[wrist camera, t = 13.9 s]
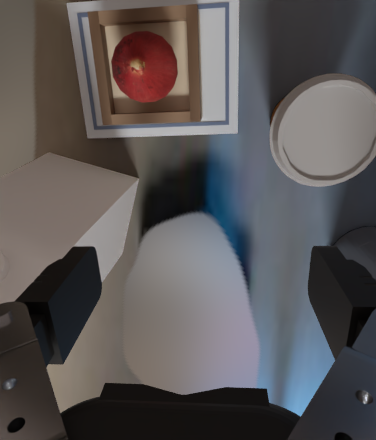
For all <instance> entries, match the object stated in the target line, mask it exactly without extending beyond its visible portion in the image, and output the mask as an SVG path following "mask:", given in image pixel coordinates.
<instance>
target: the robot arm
mask: <svg viewBox="0 0 376 440" xmlns="http://www.w3.org/2000/svg"><path fill="white" fill-rule="evenodd" d="M101 290H102V282H101V275H100V269H99V263H98V257H97V252H96V249H95V247H93V246H74V247H72V248H71V249H70V250H69V252H68V253H67V254H66V255H65V256H64V257H63V258H62V259H59V260H57V261H55V262H53V263H52V264H50V265H48V266H47V267H46V268H45V269H44V270H43V271H42V272H41V273H40V276H38V277H37V278H36V279H35V280H34V282H32V283H31V284H30V285H29V286H28V287H27V288H26V289H25V291H24V292H23V293H22V294H21V295H20V296H19V297H18V298H17V299H16V300H15V301H14V302H6V303H2V304H0V440H376V227H363V228H358V229H355V230H353V231H350V232H349V233H347V234H345V235H344V236H342V237H341V238H340V239H339V240H338V241H337V242H336V243H335V245H334V246H314V247H313V248H312V252H311V261H310V270H309V280H308V295H309V299H310V302H311V305H312V307H313V309H314V312H315V314H316V316H317V319H318V321H319V323H320V326H321V328H322V330H323V333H324V335H325V337H326V340H327V342H328V344H329V347H330V349H331V351H332V354H333V356H334V358H335V362H334V364H333V365H332V367H331V368H330V370H329V372H328V373H327V375H326V377H325V378H324V380H323V381H322V383H321V385H320V386H319V388H318V390H317V391H316V393H315V395H314V396H313V398H312V399H311V401H310V403H309V404H308V406H307V408H306V409H305V411H304V413H303V414H302V416H301V417H300V416H298V415H297V414H295V413H293V412H291V411H289V410H287V409H285V408H283V407H280V406H277V405H274V404H271V403H269V400H268V393H267V389H259V388H230V387H225V388H219V389H214V390H209V391H204V392H198V393H193V394H188V395H180V394H176V393H173V392H169V391H165V390H162V389H158V388H155V387H151V386H148V385H144V384H119V383H105V385H104V387H103V390H102V393H101V395H100V397H96V398H92V399H89V400H86V401H83V402H81V403H78V404H76V405H74V406H72V407H70V408H68V409H67V410H65V411H63V412H62V413H60V411H59V408H58V404H57V401H56V398H55V395H54V391H53V388H52V385H51V382H50V378H49V375H48V372H47V369H46V367H47V365H48V364H64V362H65V360H66V358H67V356H68V355H69V353H70V351H71V349H72V347H73V346H74V344H75V342H76V340H77V338H78V336H79V335H80V333H81V331H82V329H83V327H84V326H85V324H86V322H87V320H88V318H89V317H90V315H91V313H92V311H93V309H94V307H95V306H96V304H97V302H98V300H99V298H100V295H101Z"/></svg>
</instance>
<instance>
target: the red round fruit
mask: <svg viewBox="0 0 376 440" xmlns="http://www.w3.org/2000/svg"><path fill="white" fill-rule="evenodd" d="M111 64H112V74H113V78H114V80H115V82H116V84H117V85H118V87H119V89H120V91H122V92H123V93H124V94H125V95H127V96H128V97H129V98H130V99H133V100H136V101H139V102H142V103H144V102H156V101H158V100H160V99H162V98H164V97H166V96H167V95H168V93H169V92H170V91H171V90H172V88H173V87H174V85H175V82H176V78H177V75H178V69H177V59H176V56H175V53H174V51H173V48H172V46H171V45H170V44H169V43H168V42H167V41H166V40H165V39H164V38H163V37H162V36H160V35H158V34H155V33H153V32H150V31H136V32H133V33H131V34H129V35H127V36H124V37H123V38H122V40H121V41H120V42H119V43H118V44H117V46H116V47H115V50H114V53H113V57H112V60H111Z"/></svg>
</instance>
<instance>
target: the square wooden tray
mask: <svg viewBox="0 0 376 440" xmlns="http://www.w3.org/2000/svg"><path fill="white" fill-rule="evenodd" d="M87 13H88V20H89V28H90V35H91V42H92V50H93V57H94V64H95V72H96V79H97V86H98V94H99V101H100V108H101V115H102V123H103V125H124V124H150V123H176V122H201V119H202V117H203V109H202V72H201V35H200V14H199V10H198V6H197V4H189V5H175V6H161V7H147V8H133V9H119V10H105V11H91V12H87ZM136 31H150V32H153V33H155V34H158V35H160V36H162V37H163V38H164V39H165V40H166V41H167V42H168V43H169V44H170V45H171V46H172V48H173V51H174V53H175V56H176V59H177V69H178V75H177V78H176V82H175V85H174V87H173V88H172V90H171V91H170V92H169V93H168V95H167V96H166V97H164V98H162V99H160V100H158V101H156V102H144V103H142V102H139V101H136V100H133V99H130V98H129V97H128V96H127V95H125V94H124V93H123V92H122V91H120V89H119V87H118V85H117V84H116V82H115V80H114V78H113V74H112V64H111V60H112V57H113V53H114V50H115V47H116V46H117V44H118V43H119V42H120V41H121V40H122V38H123V37H124V36H127V35H129V34H131V33H133V32H136Z"/></svg>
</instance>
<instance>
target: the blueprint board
mask: <svg viewBox="0 0 376 440" xmlns="http://www.w3.org/2000/svg"><path fill="white" fill-rule="evenodd" d="M189 4H197V6H198V10H199V14H200V35H201V72H202V109H203V117H202V119H201V122H176V123H150V124H124V125H103V123H102V115H101V108H100V101H99V94H98V86H97V79H96V72H95V64H94V57H93V50H92V42H91V35H90V28H89V20H88V13H87V12H91V11H105V10H119V9H133V8H147V7H161V6H175V5H189ZM67 10H68V16H69V22H70V29H71V35H72V42H73V48H74V55H75V61H76V67H77V74H78V80H79V87H80V93H81V100H82V106H83V112H84V119H85V125H86V132H87V138H117V137H146V136H174V135H203V134H232V133H238V57H239V0H100V1H86V2H73V3H67Z"/></svg>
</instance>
